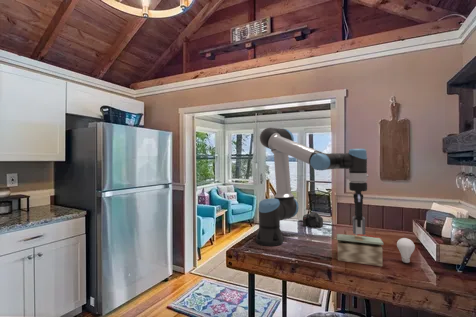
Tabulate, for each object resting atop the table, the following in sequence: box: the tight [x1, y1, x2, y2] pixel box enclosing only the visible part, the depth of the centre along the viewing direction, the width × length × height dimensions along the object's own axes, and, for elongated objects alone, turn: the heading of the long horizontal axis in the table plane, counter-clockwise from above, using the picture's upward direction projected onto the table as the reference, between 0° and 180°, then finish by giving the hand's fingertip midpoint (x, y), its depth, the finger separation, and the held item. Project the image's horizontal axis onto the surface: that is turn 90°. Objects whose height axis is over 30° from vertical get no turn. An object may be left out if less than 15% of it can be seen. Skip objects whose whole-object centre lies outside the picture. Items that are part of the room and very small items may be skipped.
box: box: [337, 240, 383, 267], centre depth 118 cm, size 18×11×8 cm, turn 67°
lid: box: [336, 233, 385, 246], centre depth 117 cm, size 19×11×1 cm, turn 67°
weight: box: [352, 215, 366, 235], centre depth 117 cm, size 5×5×7 cm
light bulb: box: [396, 237, 416, 264], centre depth 112 cm, size 7×7×11 cm
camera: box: [302, 211, 324, 229], centre depth 170 cm, size 13×10×10 cm
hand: (358, 231), depth 117 cm, fingers closed on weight, 5 cm apart
